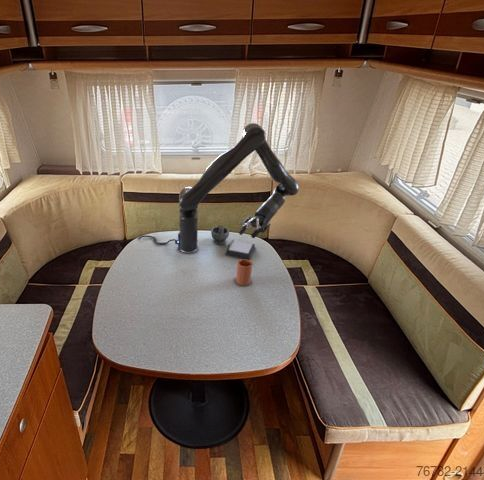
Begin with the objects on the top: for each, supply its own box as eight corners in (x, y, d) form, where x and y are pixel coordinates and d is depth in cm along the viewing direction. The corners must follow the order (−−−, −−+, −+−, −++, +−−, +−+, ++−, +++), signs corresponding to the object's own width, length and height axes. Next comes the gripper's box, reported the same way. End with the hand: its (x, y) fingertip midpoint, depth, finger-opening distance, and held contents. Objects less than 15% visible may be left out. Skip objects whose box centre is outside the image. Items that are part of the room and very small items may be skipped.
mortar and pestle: (210, 237, 198) (211, 217, 192) (227, 237, 199) (228, 217, 193) (211, 247, 189) (212, 227, 183) (229, 247, 189) (230, 227, 183)
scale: (226, 254, 182) (226, 249, 181) (232, 243, 192) (232, 239, 191) (248, 259, 179) (249, 254, 177) (254, 248, 188) (255, 243, 187)
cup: (234, 283, 161) (235, 265, 156) (238, 276, 166) (239, 258, 161) (248, 286, 159) (250, 268, 154) (251, 279, 164) (253, 260, 159)
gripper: (253, 203, 171) (232, 226, 166) (275, 207, 159) (252, 232, 155) (259, 215, 175) (239, 238, 170) (281, 219, 163) (260, 243, 158)
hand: (245, 235), depth 162 cm, fingers open, 8 cm apart
